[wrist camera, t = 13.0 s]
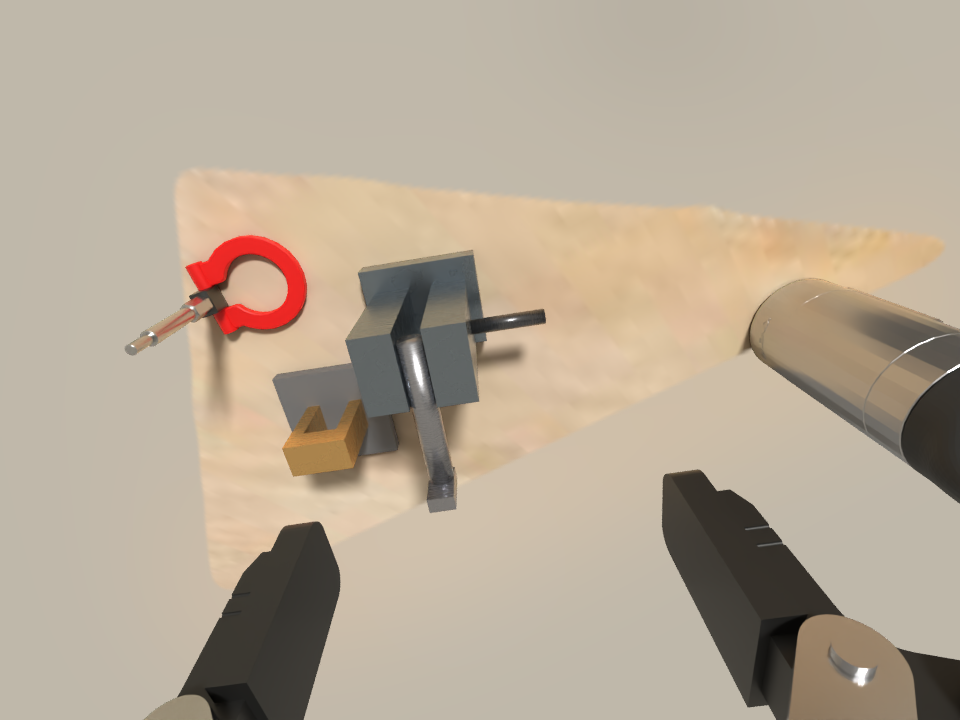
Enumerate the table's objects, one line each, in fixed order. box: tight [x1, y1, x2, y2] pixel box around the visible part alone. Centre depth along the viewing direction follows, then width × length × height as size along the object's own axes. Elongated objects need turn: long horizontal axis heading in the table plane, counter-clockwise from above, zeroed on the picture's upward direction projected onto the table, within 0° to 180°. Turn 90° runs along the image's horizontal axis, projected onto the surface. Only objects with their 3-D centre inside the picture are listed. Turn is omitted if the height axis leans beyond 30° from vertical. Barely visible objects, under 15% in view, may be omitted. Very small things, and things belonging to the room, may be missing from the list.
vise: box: [345, 250, 546, 513], centre depth 38 cm, size 15×16×14 cm
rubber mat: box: [272, 363, 399, 456], centre depth 47 cm, size 10×10×1 cm
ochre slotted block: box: [282, 399, 369, 477], centre depth 43 cm, size 5×3×7 cm, turn 99°
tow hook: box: [125, 235, 307, 355], centre depth 36 cm, size 8×13×9 cm
